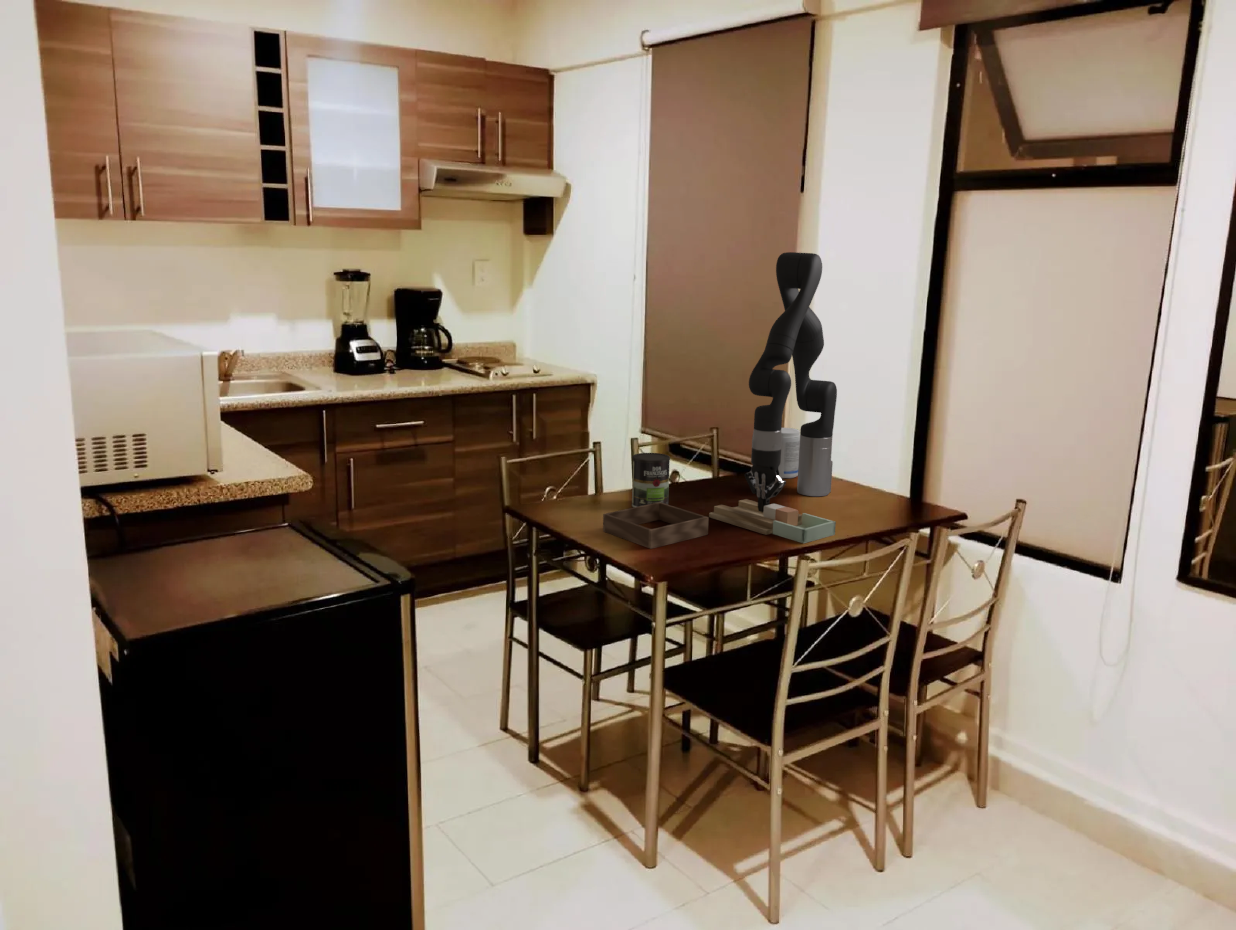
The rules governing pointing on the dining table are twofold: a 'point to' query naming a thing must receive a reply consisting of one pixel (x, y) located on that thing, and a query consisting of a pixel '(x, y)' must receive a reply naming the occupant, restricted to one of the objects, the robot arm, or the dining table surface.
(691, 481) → the dining table surface
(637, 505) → the coffee can
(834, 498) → the dining table surface
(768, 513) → the light grey cube
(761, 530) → the slot board
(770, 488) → the robot arm
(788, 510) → the orange cube
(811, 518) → the tray
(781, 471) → the supplement tub
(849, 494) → the dining table surface
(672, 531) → the brown shallow square box
